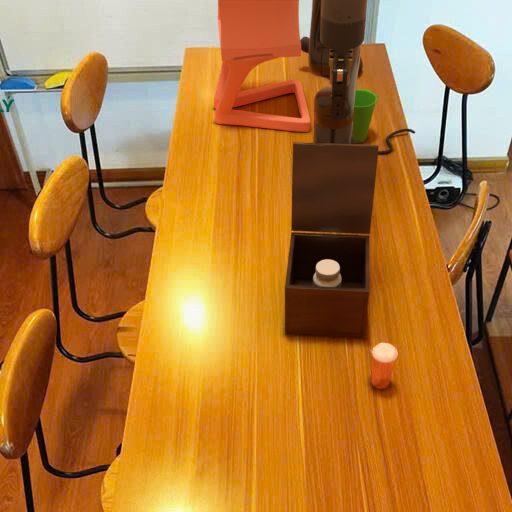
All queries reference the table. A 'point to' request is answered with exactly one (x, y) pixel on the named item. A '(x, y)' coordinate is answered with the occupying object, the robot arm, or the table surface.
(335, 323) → the chest
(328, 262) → the pill bottle
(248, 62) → the chair
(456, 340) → the table surface
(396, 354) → the milkshake
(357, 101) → the cup
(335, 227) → the lid
